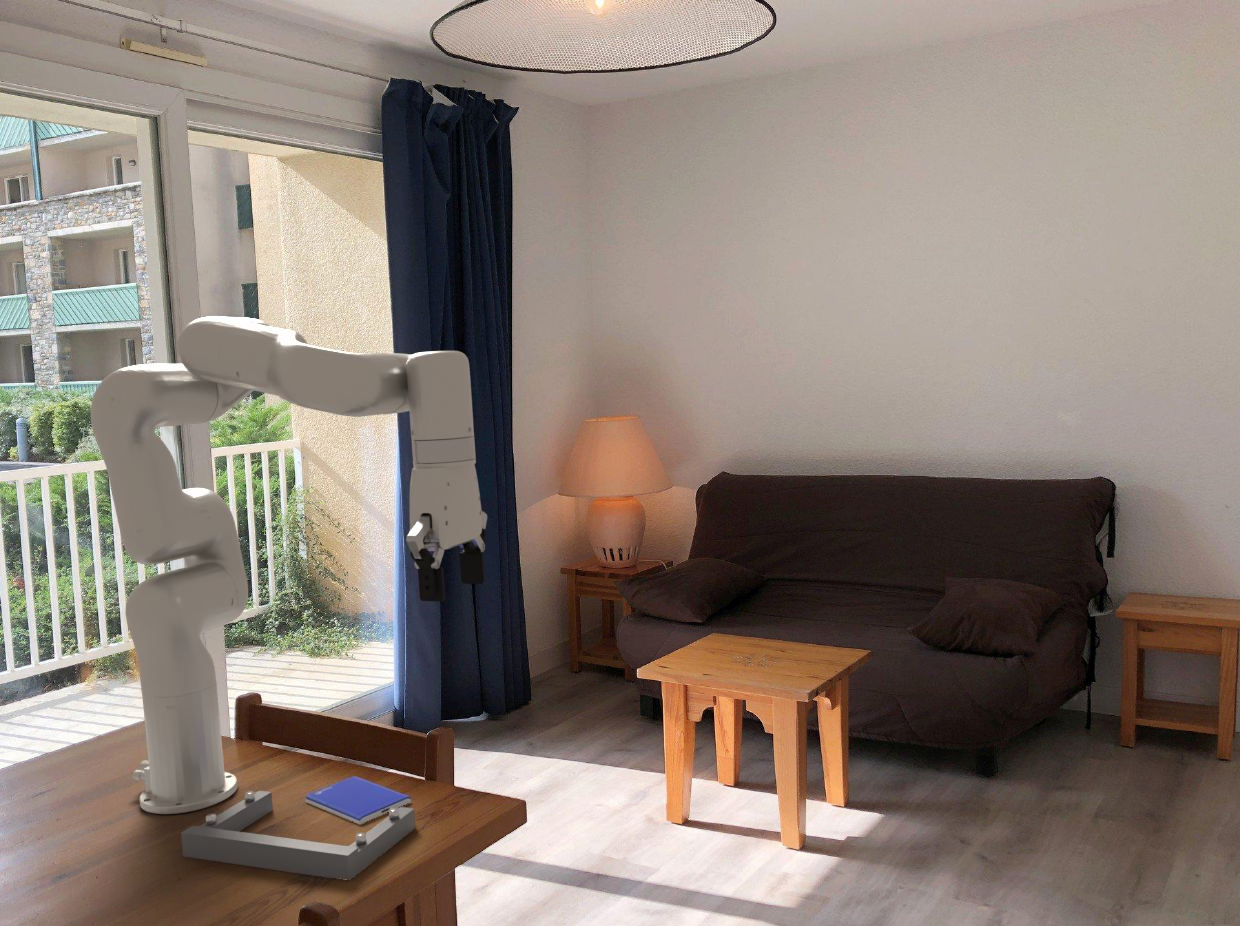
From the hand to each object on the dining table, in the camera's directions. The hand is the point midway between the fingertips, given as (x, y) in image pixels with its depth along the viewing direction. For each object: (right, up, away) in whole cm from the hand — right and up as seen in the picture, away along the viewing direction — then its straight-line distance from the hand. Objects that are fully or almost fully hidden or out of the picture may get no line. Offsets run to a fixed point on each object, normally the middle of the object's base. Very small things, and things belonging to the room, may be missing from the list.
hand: (453, 591), depth 127 cm
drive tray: (-19, -31, +1) cm, 36 cm away
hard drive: (-15, -31, +12) cm, 36 cm away
